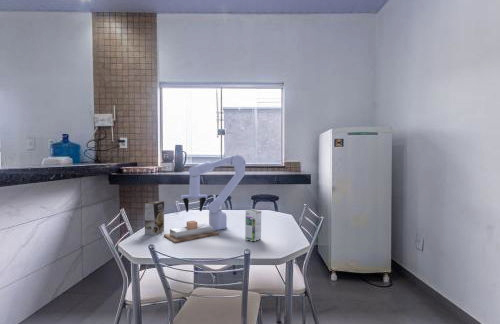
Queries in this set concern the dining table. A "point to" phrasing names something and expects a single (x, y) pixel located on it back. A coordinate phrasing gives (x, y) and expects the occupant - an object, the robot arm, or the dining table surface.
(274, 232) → the dining table surface
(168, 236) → the board
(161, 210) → the coffee box
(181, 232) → the white square hole block
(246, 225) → the syrup box
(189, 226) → the peg
